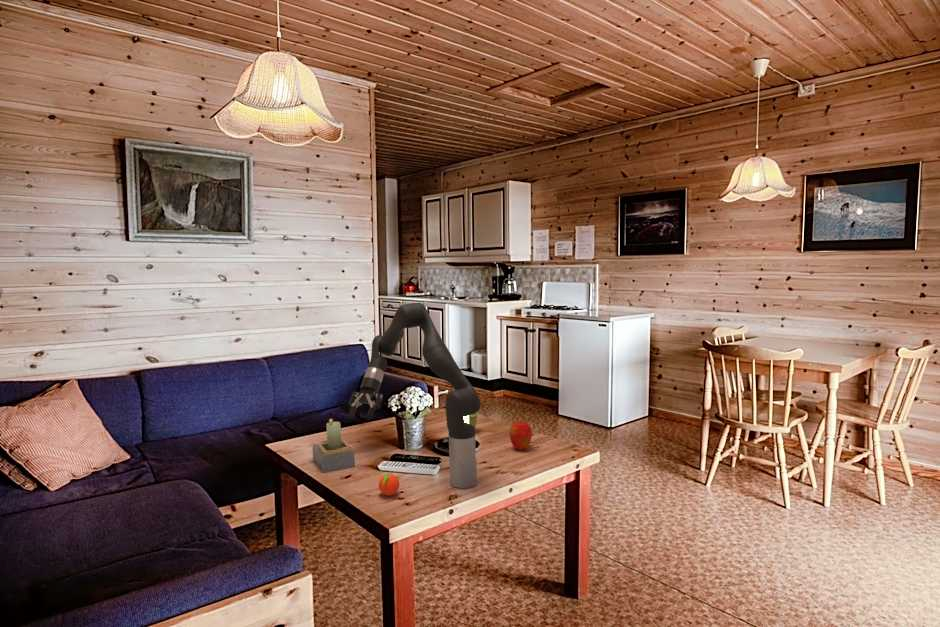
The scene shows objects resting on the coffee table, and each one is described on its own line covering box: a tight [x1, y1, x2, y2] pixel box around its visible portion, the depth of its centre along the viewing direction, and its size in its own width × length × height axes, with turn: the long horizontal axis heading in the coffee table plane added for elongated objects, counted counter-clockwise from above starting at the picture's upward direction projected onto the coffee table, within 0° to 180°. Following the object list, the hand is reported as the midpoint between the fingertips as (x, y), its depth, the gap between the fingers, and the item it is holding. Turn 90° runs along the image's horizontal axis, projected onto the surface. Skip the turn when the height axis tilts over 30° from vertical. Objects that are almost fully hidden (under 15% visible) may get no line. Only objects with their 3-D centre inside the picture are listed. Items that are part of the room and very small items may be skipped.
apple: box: [508, 420, 533, 451], centre depth 231 cm, size 9×9×12 cm
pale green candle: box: [326, 418, 342, 450], centre depth 218 cm, size 5×5×12 cm
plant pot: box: [470, 411, 479, 429], centre depth 254 cm, size 9×9×9 cm
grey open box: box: [311, 439, 356, 474], centre depth 220 cm, size 16×12×8 cm
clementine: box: [378, 473, 400, 497], centre depth 190 cm, size 8×7×7 cm
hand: (360, 417), depth 227 cm, fingers open, 8 cm apart
